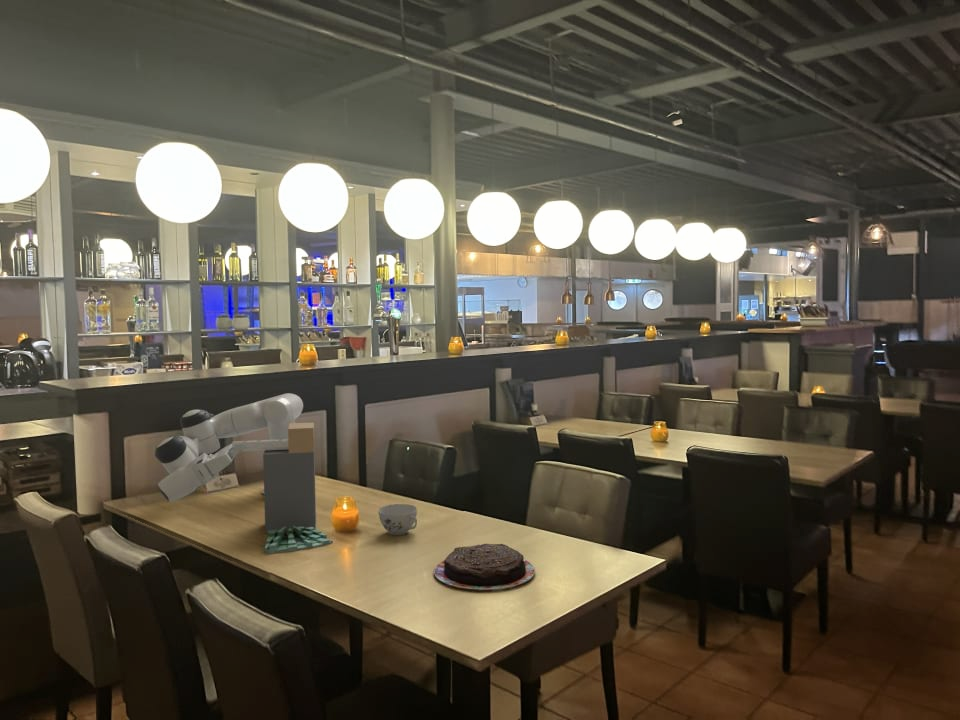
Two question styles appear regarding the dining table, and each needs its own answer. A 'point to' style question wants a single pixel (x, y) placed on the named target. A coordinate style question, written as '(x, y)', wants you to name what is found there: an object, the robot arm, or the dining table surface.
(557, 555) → the dining table surface
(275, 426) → the robot arm
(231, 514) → the dining table surface
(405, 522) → the teacup
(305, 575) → the dining table surface
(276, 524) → the pedestal
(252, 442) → the light grey bar
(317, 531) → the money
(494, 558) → the chocolate cake
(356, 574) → the dining table surface
